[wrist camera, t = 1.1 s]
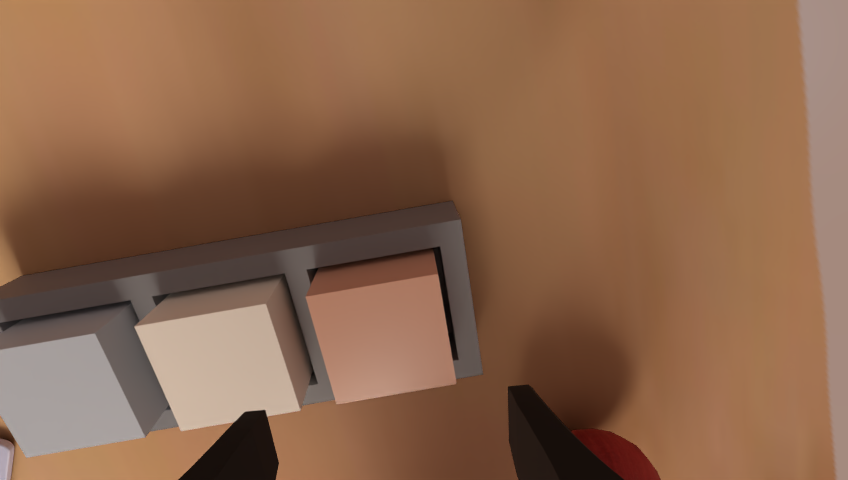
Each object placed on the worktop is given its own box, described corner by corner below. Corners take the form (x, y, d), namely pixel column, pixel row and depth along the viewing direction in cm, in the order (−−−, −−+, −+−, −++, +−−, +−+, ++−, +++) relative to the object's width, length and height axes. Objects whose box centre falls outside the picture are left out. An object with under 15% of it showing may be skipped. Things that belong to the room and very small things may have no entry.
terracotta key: (344, 363, 21) (336, 404, 18) (318, 267, 19) (305, 296, 16) (449, 345, 21) (456, 383, 18) (432, 247, 19) (438, 273, 16)
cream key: (209, 386, 21) (180, 431, 18) (171, 292, 19) (134, 326, 16) (313, 369, 21) (300, 410, 18) (284, 273, 19) (266, 303, 16)
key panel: (89, 405, 23) (46, 449, 20) (21, 275, 21) (-38, 306, 18) (473, 338, 23) (483, 374, 20) (452, 200, 21) (460, 219, 18)
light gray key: (73, 410, 21) (26, 457, 18) (24, 318, 19) (-37, 356, 16) (177, 392, 21) (145, 437, 18) (137, 298, 19) (94, 333, 16)
